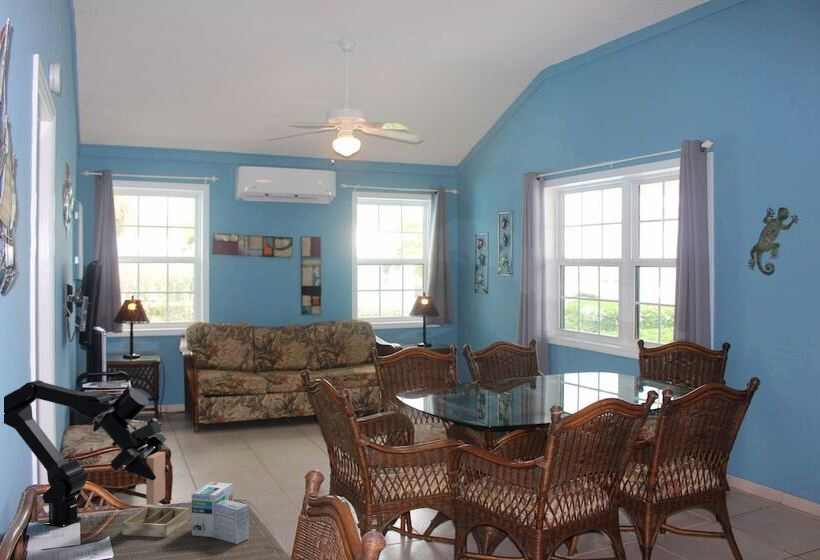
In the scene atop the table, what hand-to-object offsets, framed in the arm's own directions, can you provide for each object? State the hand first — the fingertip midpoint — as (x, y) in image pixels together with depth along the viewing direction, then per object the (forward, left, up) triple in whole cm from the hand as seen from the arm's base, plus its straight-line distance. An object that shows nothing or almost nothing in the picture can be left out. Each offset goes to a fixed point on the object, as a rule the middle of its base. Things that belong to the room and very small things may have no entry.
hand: (160, 475), depth 184 cm
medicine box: (+22, -1, -14) cm, 26 cm away
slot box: (-1, 0, -13) cm, 14 cm away
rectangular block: (-1, 0, -7) cm, 7 cm away
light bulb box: (+14, +3, -14) cm, 20 cm away
